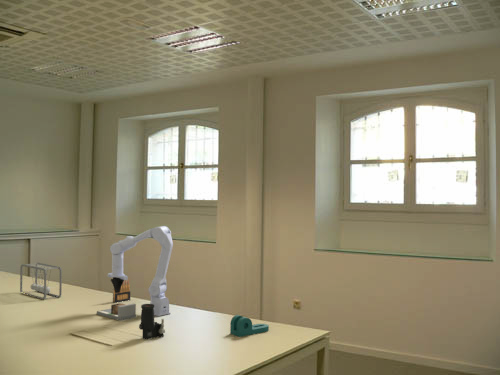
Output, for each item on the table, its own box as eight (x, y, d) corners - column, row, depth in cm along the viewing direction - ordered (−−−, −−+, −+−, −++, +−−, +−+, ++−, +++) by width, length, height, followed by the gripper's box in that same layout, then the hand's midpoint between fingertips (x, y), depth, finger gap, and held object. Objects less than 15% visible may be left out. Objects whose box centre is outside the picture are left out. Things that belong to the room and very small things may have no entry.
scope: (165, 304, 225) (145, 308, 218) (165, 337, 225) (145, 341, 217) (154, 301, 230) (134, 304, 223) (153, 333, 230) (134, 337, 223)
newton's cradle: (19, 293, 317) (20, 263, 317) (36, 291, 325) (37, 262, 325) (44, 300, 297) (44, 268, 298) (61, 298, 305) (62, 267, 305)
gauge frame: (136, 317, 259) (136, 304, 259) (120, 320, 252) (121, 307, 252) (111, 311, 272) (112, 298, 272) (96, 314, 265) (96, 301, 265)
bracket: (239, 337, 226) (239, 319, 226) (230, 334, 232) (230, 316, 232) (271, 331, 237) (271, 313, 237) (262, 327, 243) (262, 310, 243)
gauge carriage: (125, 312, 261) (125, 303, 261) (114, 315, 256) (114, 305, 256) (119, 311, 265) (119, 302, 265) (108, 313, 260) (108, 304, 260)
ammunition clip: (114, 303, 293) (114, 281, 293) (112, 302, 294) (112, 280, 294) (130, 300, 301) (130, 279, 301) (128, 299, 302) (128, 278, 302)
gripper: (132, 266, 272) (132, 293, 272) (115, 264, 281) (115, 289, 281) (121, 268, 267) (120, 295, 267) (104, 265, 276) (104, 291, 276)
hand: (117, 292), depth 274 cm, fingers closed
